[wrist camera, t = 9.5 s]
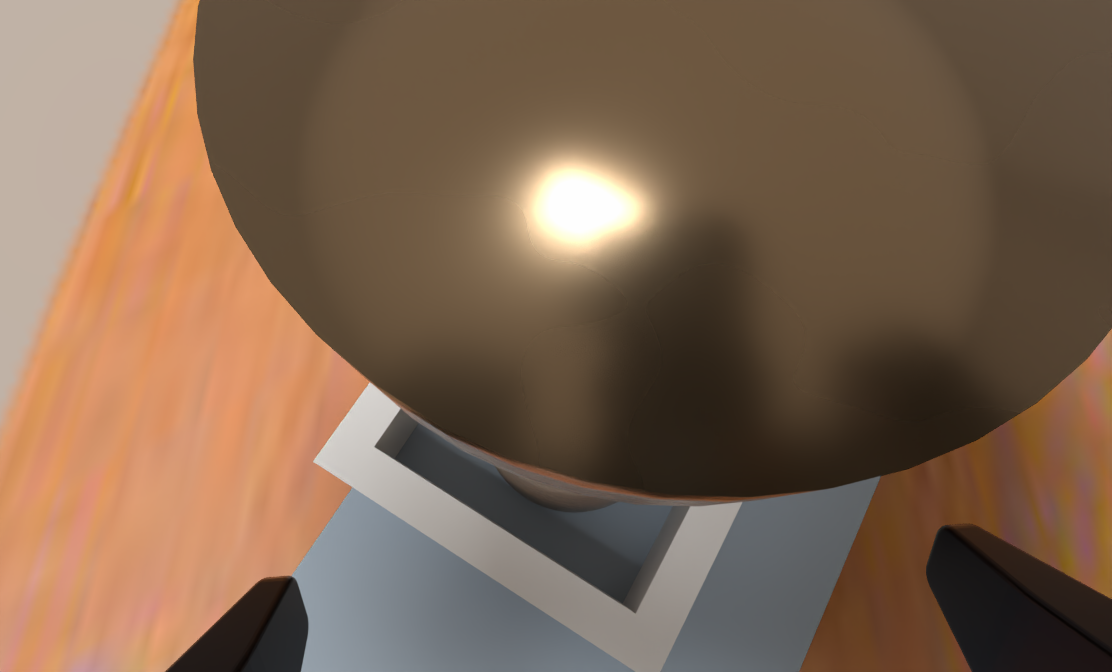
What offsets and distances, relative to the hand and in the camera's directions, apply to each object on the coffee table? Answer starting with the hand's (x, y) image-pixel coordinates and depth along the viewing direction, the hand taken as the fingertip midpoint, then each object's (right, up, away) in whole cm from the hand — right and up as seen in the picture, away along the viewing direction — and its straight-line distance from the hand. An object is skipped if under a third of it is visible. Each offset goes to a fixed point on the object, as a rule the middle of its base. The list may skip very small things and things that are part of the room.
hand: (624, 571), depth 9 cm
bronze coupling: (0, +1, +8) cm, 8 cm away
